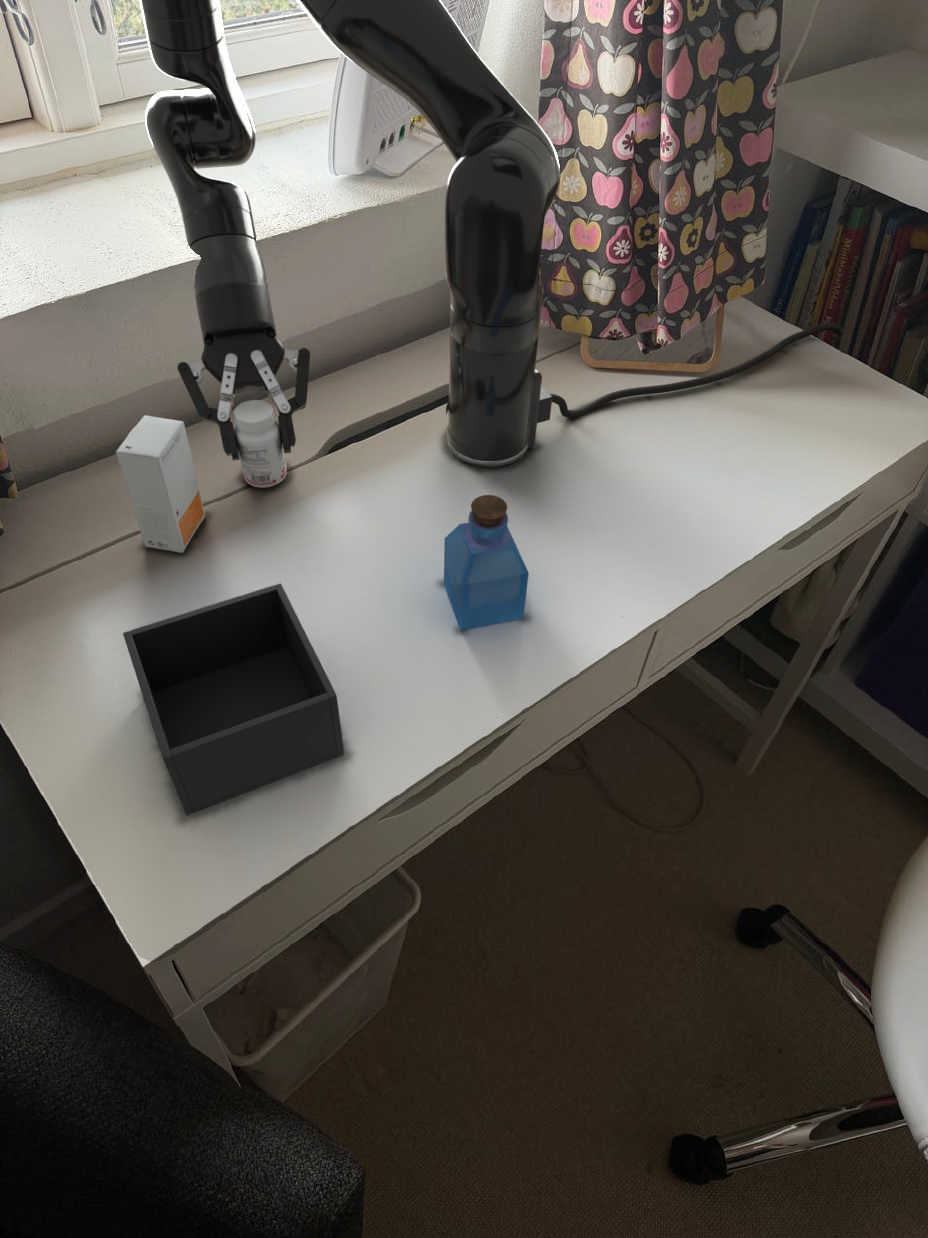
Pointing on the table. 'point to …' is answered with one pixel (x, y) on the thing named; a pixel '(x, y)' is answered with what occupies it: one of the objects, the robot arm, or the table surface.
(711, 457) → the table surface
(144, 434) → the cosmetic box
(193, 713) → the open box
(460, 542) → the perfume bottle
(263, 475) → the pill bottle
